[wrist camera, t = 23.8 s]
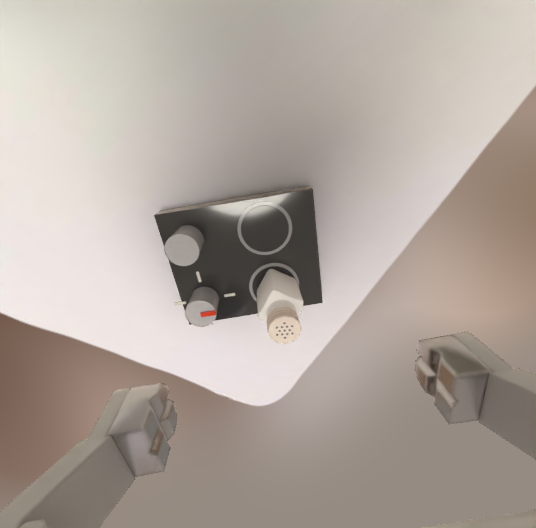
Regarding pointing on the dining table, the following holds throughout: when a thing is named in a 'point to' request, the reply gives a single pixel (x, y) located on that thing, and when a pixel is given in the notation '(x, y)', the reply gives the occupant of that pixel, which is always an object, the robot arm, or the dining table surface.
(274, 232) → the hob zones
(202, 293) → the hob knob
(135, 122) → the dining table surface
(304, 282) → the hob
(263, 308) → the pepper shaker
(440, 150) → the dining table surface
